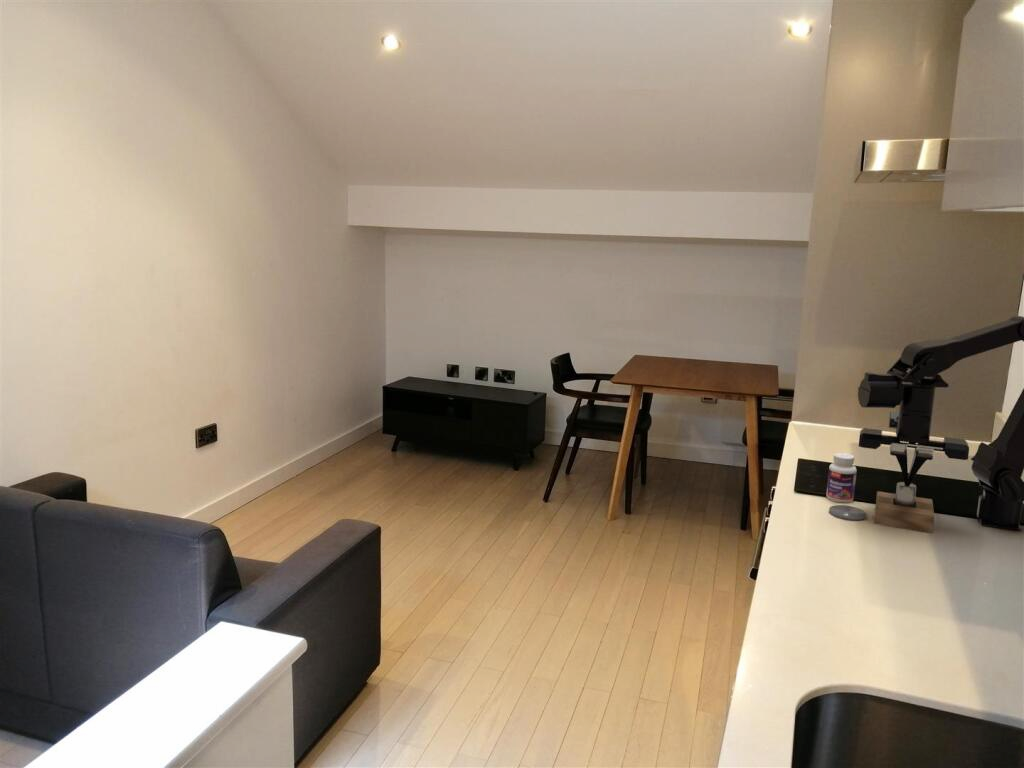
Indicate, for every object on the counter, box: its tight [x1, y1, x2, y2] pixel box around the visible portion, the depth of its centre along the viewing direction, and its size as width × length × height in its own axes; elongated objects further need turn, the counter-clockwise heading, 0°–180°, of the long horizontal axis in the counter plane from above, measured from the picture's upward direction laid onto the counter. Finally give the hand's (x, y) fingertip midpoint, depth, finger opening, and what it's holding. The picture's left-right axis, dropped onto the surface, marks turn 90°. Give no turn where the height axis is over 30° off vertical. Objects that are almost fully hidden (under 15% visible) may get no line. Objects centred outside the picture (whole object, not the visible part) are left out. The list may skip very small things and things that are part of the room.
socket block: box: [873, 490, 935, 534], centre depth 147 cm, size 10×10×4 cm
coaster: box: [828, 504, 867, 522], centre depth 150 cm, size 7×7×1 cm
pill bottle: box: [826, 452, 858, 503], centre depth 158 cm, size 5×5×10 cm
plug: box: [895, 481, 917, 508], centre depth 146 cm, size 3×3×6 cm
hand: (907, 485), depth 146 cm, fingers closed, pressing on plug
